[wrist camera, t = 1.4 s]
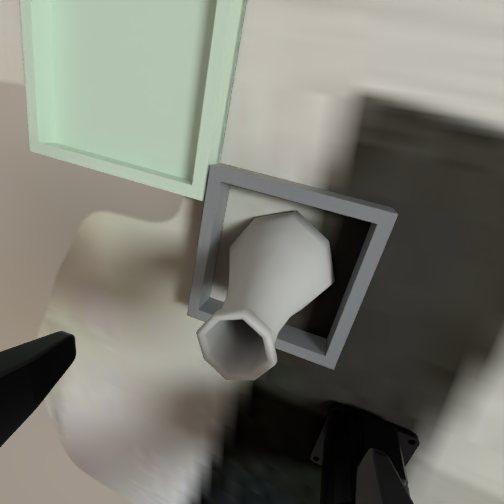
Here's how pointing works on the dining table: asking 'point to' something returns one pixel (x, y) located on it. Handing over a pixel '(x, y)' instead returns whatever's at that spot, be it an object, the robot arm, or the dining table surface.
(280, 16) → the dining table surface
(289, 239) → the flask
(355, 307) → the socket
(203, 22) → the tray
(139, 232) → the dining table surface
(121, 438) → the dining table surface
